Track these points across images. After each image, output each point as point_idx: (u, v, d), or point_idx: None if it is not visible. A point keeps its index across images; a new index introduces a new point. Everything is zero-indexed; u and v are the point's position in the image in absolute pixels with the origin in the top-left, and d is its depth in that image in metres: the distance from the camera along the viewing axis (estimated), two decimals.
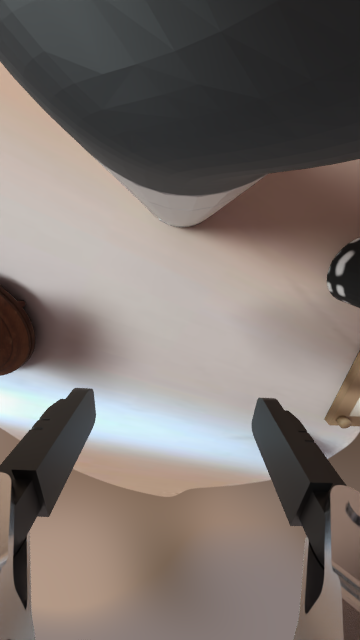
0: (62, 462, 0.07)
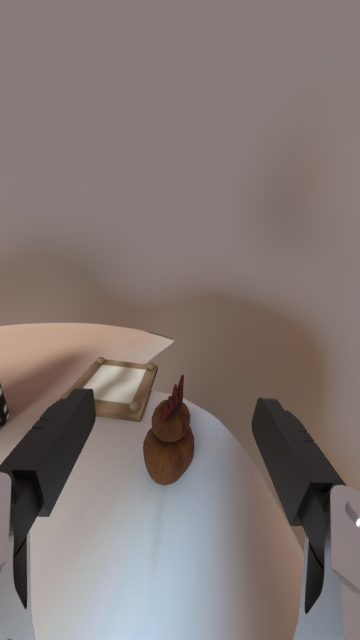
0: (62, 462, 0.07)
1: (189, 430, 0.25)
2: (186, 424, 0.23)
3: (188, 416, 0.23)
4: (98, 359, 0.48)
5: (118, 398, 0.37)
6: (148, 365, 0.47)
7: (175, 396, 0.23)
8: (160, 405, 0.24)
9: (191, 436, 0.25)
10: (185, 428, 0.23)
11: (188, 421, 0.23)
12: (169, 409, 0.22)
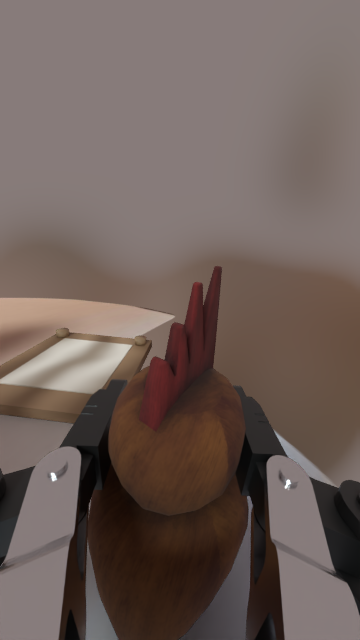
0: None
1: None
2: (239, 440, 0.06)
3: None
4: (59, 330, 0.31)
5: (76, 385, 0.20)
6: (136, 338, 0.30)
7: (196, 333, 0.06)
8: (142, 373, 0.07)
9: None
10: (237, 456, 0.06)
11: (244, 428, 0.06)
12: (174, 378, 0.05)
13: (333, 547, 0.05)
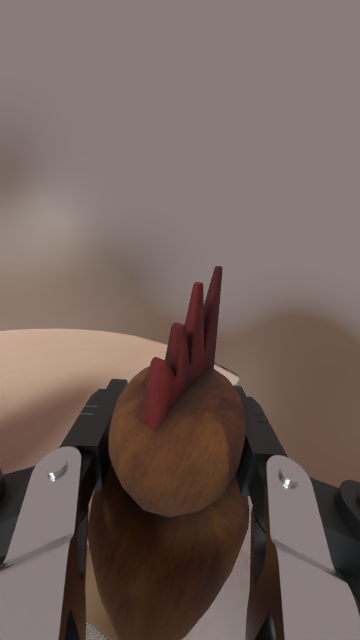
0: None
1: None
2: (240, 441, 0.06)
3: (242, 410, 0.06)
4: None
5: None
6: None
7: (197, 333, 0.06)
8: (142, 374, 0.07)
9: None
10: (238, 457, 0.06)
11: (244, 429, 0.06)
12: (175, 379, 0.05)
13: (333, 547, 0.05)
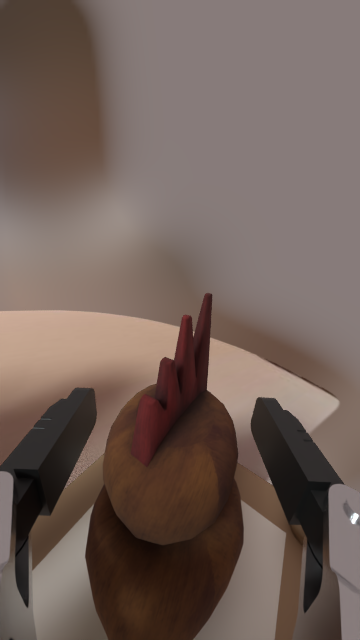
0: (63, 461, 0.07)
1: None
2: (231, 468, 0.06)
3: (233, 436, 0.07)
4: None
5: None
6: None
7: (187, 363, 0.06)
8: (136, 400, 0.07)
9: (236, 493, 0.08)
10: (229, 485, 0.06)
11: (236, 454, 0.06)
12: (165, 413, 0.05)
13: None
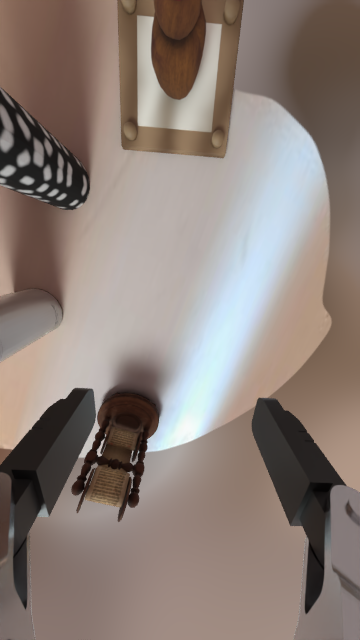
0: (62, 462, 0.07)
1: None
2: None
3: None
4: None
5: (193, 122, 0.28)
6: (227, 8, 0.24)
7: None
8: None
9: (201, 4, 0.20)
10: None
11: None
12: None
13: None
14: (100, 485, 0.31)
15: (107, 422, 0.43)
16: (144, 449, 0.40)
